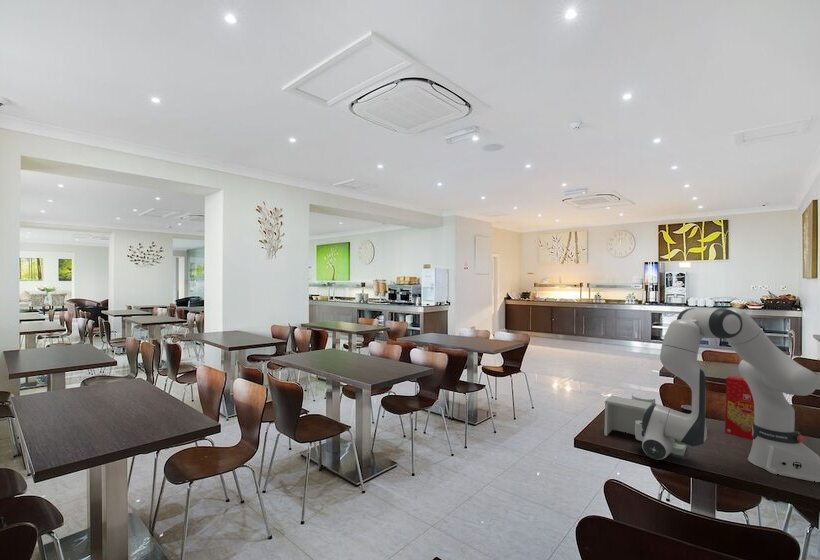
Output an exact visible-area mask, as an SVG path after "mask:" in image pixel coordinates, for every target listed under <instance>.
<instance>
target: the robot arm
mask: <svg viewBox="0 0 820 560" xmlns="http://www.w3.org/2000/svg"><path fill="white" fill-rule="evenodd" d="M704 338H706V339H720V340H726V342H727V343H728V344H729V346H730V347H731V348H732V349H733V351H734V352H735V353H736V354H737V356H738V357H739V358H740V359H741V360H740V362H739V364H738V367H737V368H738V370H737V371H738V373H739V375H740V378H743V379H744V380H745V381H746V383H747V384H748V386H749V388H750V391H751V394H752V397H753V400H754V423H753V426H752V436H753V440H752V444H751V448H750V452H749V454H748V457H747V461H748V462H750V463H751V464H753V465H754V466H757V467H758V468H760V469H764V470H766V471H767V472H769V473H771V474H773V475H777V474H779V475H778V476H782V477H789V478H794V479H798V480H805V481H809V482H814V481H815V482H814V483H819V482H820V456H819V455H818V454H817V453H816V452H814V451H813V450H812V449H811V448H809V447H808V446H807V445H805V444H804V442H805V441H806V438H805V436H803V435H802V433H800V432H799V431H796V430H795V421H796V420H795V419H796V417H795V414H796V413H795V412H796V411H795V408H794V407H793V406H792V405H791V403H789V402H788V401H787V398H786V396H785V395H784V394H787V395H792V396H800V397H801V396H802V397H803V396H809V395H812V394H813V393H814V392H815V391H816V390H817V387H818V378H817V375H816V374H815V372H814V371H812V370H811V369H809V368H807V367H804V366H803V365H802V364H799V363H798V362H797V361H795V360H794V359H793V358H791V357H790V356H789V355H787V354H786V353H785V352H784V351H782V350H781V349H780V348H779V347H777V346H776V345H775V344H774V343H773V342H772V341H771V339H770V338H769V337H768V335H766V333H765V332H764V331H763V329H762V328H761V327H760V325H758V323H757V322H756V321H755V320H754V319H753V318H752V317H751V316H750V315H749V314H748V313H746V312H745V311H744V310H743V309H741V308H738V307H727V308H716V307H699V308H696V307H695V308H694V307H691V308H687V309H684V310H682V311H681V312H680V313H679V314H678V315H677V317H676V319H674V320H673V321H671V322H670V324H669V325H668V327H667V329H666V332H665V334H664V337H663V340H662V343H661V347H660V354H659V359H660V362H661V365H662V366H663V367H664V368H665V369H666V370H667V371H668V372H670V373H671V374H672V375H675V376H676V377H677V378H679V379H680V380H682V381H683V382H684V383H686V384H687V385H688V386H689V388H690V390H691V406H692V413H691V414H686V413H682V412H680V411H676V410H677V409H673V408H670V407H667V406H664V405H661V404H657V403H655V404H654V405H652V406H650V407H648V409H647V410H646V412H645V414H644V417H643V420H642V421H640V420H636V421H635V435H634V436H635V439H636V440H637V441H640V442H641V447H642V450H643V452H644V453H645V455H646V456H648V457H649V458H651V459H653V460H656V461H657V460H663V459H666V458H667V457H668V456H669V455H670V454H671V453H670V452H671V450H672V448H673V446H674V444H675V443H677V444H681V445H685V446H687V447H697V446H700V445H703V444H704V443H705V442H706V440H707V436H708V427H707V421H706V420H707V419H706V412H707V411H706V409H707V408H706V405H707V404H706V402H707V400H706V399H707V391H706V390H707V388H706V387H707V385H706V384H707V383H706V375H705V371H704V370H703V369H702V368H700V365H699V363H698V355H699V349H700V344H701V343H700V342H701V341H702V339H704Z"/></svg>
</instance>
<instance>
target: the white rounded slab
mask: <svg viewBox="0 0 820 560" xmlns="http://www.w3.org/2000/svg"><path fill="white" fill-rule="evenodd" d="M631 399H633V400H639V401H644V402H649V403H652V405H654V404H656V397H655V396H653V395H650V394H647V393H633V394H632V395H631Z"/></svg>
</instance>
